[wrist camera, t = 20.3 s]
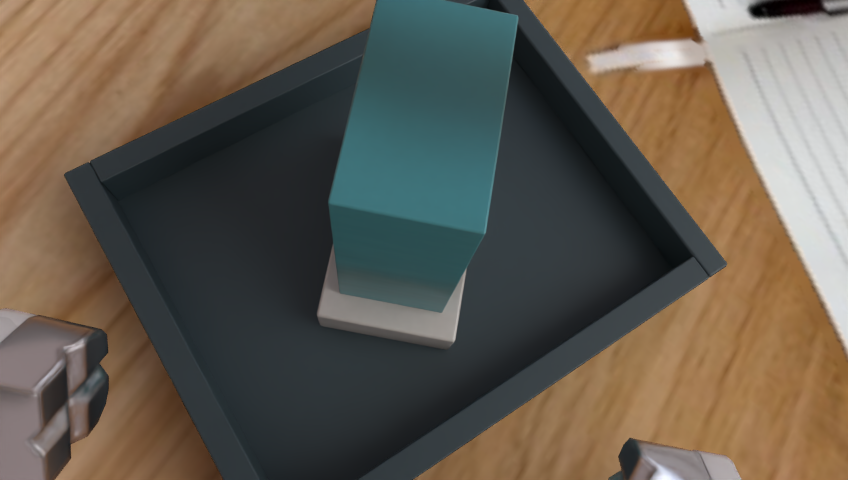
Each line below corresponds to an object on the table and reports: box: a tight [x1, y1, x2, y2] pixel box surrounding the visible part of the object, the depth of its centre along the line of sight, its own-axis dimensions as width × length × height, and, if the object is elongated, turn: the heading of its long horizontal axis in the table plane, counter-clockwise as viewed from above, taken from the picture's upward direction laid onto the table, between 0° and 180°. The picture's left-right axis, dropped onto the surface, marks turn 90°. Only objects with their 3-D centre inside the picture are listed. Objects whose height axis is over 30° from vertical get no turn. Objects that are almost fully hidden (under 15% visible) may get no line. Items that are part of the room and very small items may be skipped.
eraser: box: [317, 0, 518, 350], centre depth 17 cm, size 6×4×8 cm, turn 170°
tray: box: [64, 0, 727, 480], centre depth 21 cm, size 16×13×2 cm
